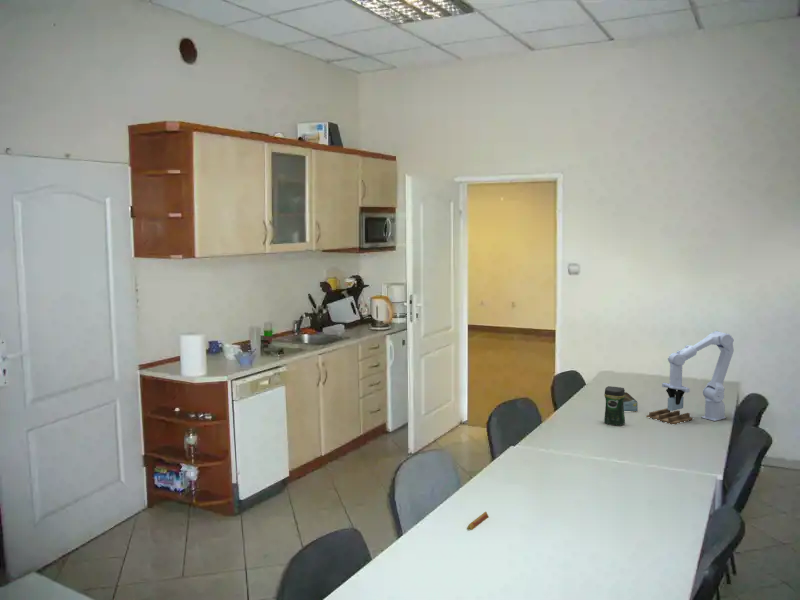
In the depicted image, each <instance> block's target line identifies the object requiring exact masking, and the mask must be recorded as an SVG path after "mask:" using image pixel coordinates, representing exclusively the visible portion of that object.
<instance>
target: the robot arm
mask: <svg viewBox="0 0 800 600" xmlns="http://www.w3.org/2000/svg"><path fill="white" fill-rule="evenodd" d="M711 345H712V346H713V345H714V346H716V347H717V348H718V349H719V351H720V353H719V356H718V359H717V362H716V365H715V368H714V371H713V374H712V377H711V380H710V381H708V382H707V383H706V386H705V387H704V388H703V390H702V394H703V396H704V400H705V401H704V415H702V416H700V417H702V418H701V419H704V420H705V419H706V420H709V421H714V422H716V421H720V420H724V419H726V418H727V417H726V415H725V411H726V409H725V408H726V404H725V403H724V399H725V393H724V392H725V387H724V381H725V378H726V375H727V372H728V369H729V367H730V362H731V361H732V357H733V354H734V338H733V337H732V335H731V334H730V333H727V332H726V333H725V332H722V331H719V330H715V331H712V332H710V333H709V334H708V335H707V336H705V337H704V338H702V339H701V340H700V341H697V342H696V343H695V344H694V345H691V344H690V345H689V344H687V345H684V348H681V349H679V350H677V351H676V352H672V353H671V354H669V356H668V358H667V362H668V363H669V383H667V382H663V383H661V387H662V388H666V390H665V392H666V393H667V396H668V398H671V397H675V396H676V405H679V404H680V401H681V398H682V396H683V397H684V394H685V393H690V392H691V391H690V390H691V389H690V388H689V387H687V386H684V385H683V365H684V364H685V363H686V362H687V360H689V359H691V358H693V357H695V356H696V355H697V352H698V351H701V350H702V349H704V348H707V347H709V346H711Z"/></svg>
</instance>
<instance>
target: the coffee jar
mask: <svg viewBox="0 0 800 600" xmlns="http://www.w3.org/2000/svg"><path fill="white" fill-rule="evenodd" d="M625 392H626V391H625V387H619V386H612V385H611V386H606V387H605V388H604V395H603V396H604V398H605V408H604V409H605V410H604V417H603V418H604V419H603V422H604V423H605V424H606V425H609V426H610V425H611V426H623V425H625V423H626V417H625V416H626V415H625V412H624V398H625Z"/></svg>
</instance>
